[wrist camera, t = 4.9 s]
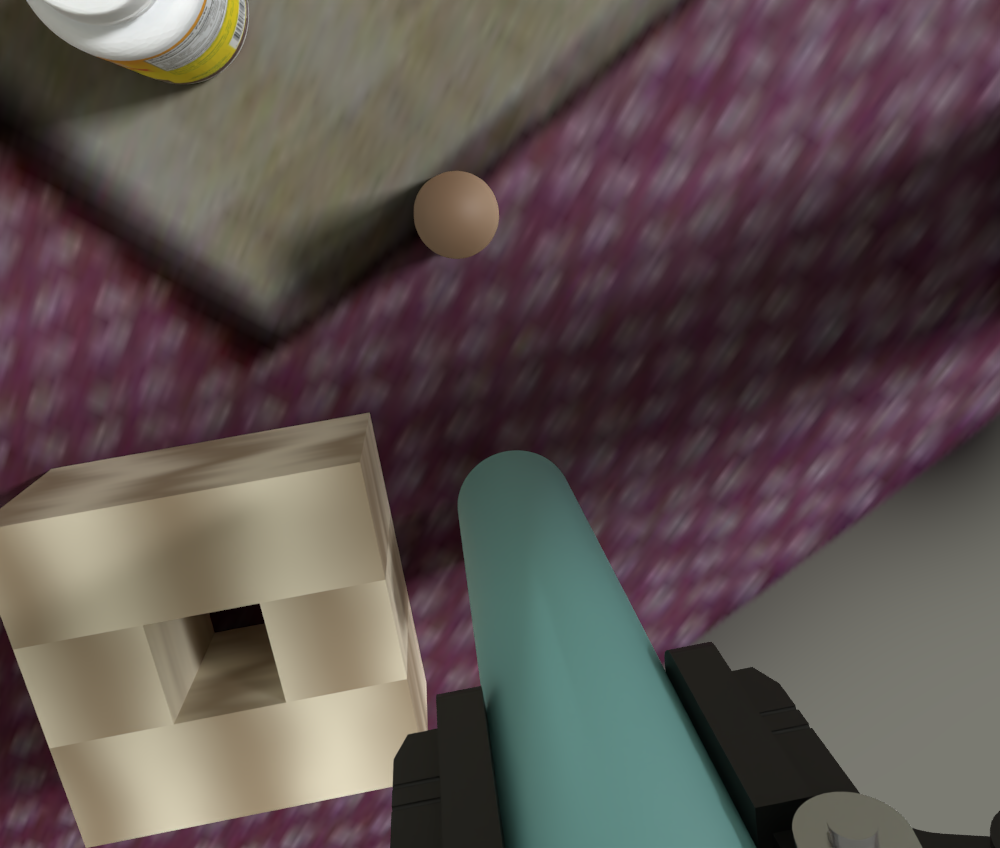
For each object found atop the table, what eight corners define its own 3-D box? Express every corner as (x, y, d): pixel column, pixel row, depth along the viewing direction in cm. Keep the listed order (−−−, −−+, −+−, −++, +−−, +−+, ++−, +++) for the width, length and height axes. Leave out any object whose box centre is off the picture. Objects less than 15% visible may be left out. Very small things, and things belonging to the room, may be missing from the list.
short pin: (479, 168, 35) (491, 164, 29) (490, 241, 36) (505, 251, 30) (407, 180, 35) (406, 178, 29) (421, 252, 35) (422, 265, 30)
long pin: (563, 441, 22) (808, 859, 8) (578, 546, 22) (822, 1082, 9) (448, 461, 21) (505, 923, 8) (468, 566, 22) (548, 1143, 9)
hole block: (369, 412, 37) (359, 462, 30) (426, 682, 41) (428, 779, 34) (51, 468, 36) (-31, 532, 30) (140, 738, 40) (86, 847, 34)
